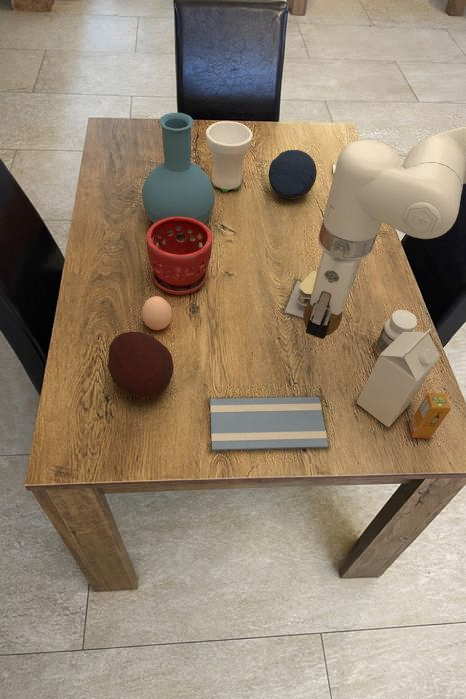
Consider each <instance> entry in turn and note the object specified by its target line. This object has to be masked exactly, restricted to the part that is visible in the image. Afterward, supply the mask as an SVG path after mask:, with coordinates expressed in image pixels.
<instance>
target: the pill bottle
mask: <svg viewBox="0 0 466 699" xmlns="http://www.w3.org/2000/svg"><path fill="white" fill-rule="evenodd" d="M417 325H418V319H417V317H416V315H415V314H413V313H412V312H411V311H409V310H406V309H397V310H395V311H393V313H392V314H391V315H390V318H389V319H387V320H386V321H385V323H384V325H383V327H382V330H381V332H380V334H379V335H378V336H379V337H378V338H377V340H376V343H375V346H374V350H375V353H376V354H377V356H378V357H379V355H380V354H381V353H382V352H383V351H384V350H385V349H386V348H387V347H388V346H389V345H390V344H391V343H392V342H393V341H394V340H396V339H397V338H398V337H399V336H400V335H401V334H402V333H403V332H416V326H417Z"/></svg>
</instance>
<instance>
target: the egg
mask: <svg viewBox="0 0 466 699" xmlns="http://www.w3.org/2000/svg"><path fill="white" fill-rule="evenodd" d="M141 317H142V321H143V323H144V324H145V326H147V327H148V328H149V329H151V330H155V331H160V330H163V329H166V328H167V327H168V325H169V324H170V323H171V321H172V317H173V311H172V308H171V304H170V303H169V302H168V301H167V300H166V299H165V298H163V297H162V296H158V295H155V296H151V297H150V298H148V299H146V301H145V302H144V303H143V305H142V309H141Z"/></svg>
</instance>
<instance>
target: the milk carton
mask: <svg viewBox="0 0 466 699" xmlns="http://www.w3.org/2000/svg"><path fill="white" fill-rule="evenodd" d="M431 330H432V329H431V328H428V329H427V330H426V331H415V332H403V333H402V334H401V335H400V336H399V337H398V338H397V339H396V340H394V341H393V342H392V343H391V344H390V345H389V346H388V347H387V348H386V349H385V350H384V351H383V352H382V353H381V354H380V355H379V356H378V357H377V360H376V361H375V363H374V366H373V368H372V369H371V372H370V374H369V376H368V378H367V380H366V382H365V384H364V386H363V388H362V391H361V393H360V395H359V396H358V399H357V401H356V404H357V405H358V406H359V407H361V408H362V409H363V410H364V411H366V412H367V413H368V414H370V415H371V416H372V417H374V418H375V419H376V420H378V421H379V422H380V423H381V424H383V425H384V426H385V427H387V428H390V427H391V425H392V424H393V423H394V422H395V421H396V420H397V419H398V418H399V417H400V416H401V415H402V413H404V412H405V410H406V409H407V408H408V407H409V406H410V405H411V403H412V401H413V400H414V398H415V397H416V395H417V394H418V392H419V391H420V389H421V388H422V386H423V385H424V383H425V381H426V380H427V378H428V377H429V375H430V374H431V372H432V370H433V369H434V368H435V366H436V364H437V363H438V361H439V360H440V358H441V355H440V353H439V350H438V349H437V347H436V345H435V343H434V341H433V338H432V337H431V335H430V332H431Z"/></svg>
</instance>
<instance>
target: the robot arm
mask: <svg viewBox="0 0 466 699" xmlns="http://www.w3.org/2000/svg"><path fill="white" fill-rule="evenodd" d="M335 164H336V168H335V172H334V174H333V177H332V180H331V184H330V188H329V193H328V197H327V201H326V205H325V209H324V213H323V218H322V221H321V226H320V229H319V233H318V238H317V240H318V245H319V247H320V248H321V250H322V252H321V257H320V261H319V264H318V266H317V267H318V268H317V271H316V272H317V275H316V279H315V283H314V287H313V291H312V295H311V300H310V303H311V305H312V306H313V305H314V308H313V311H312V314H311V315H310V317H309V321H308V324H307V328H306V327H305V333H306V334H307V335H309V336H312V337H315V338H318V339H321V340H324V339H325V338H326V337H327V336H326V333H327V330H328V327H329V324H330V321H329V318H330V315H331V313H332V314H336V315H339V314H340V313H341V312H342V313H343V310H344V308H345V305H346V303H347V300H348V298H349V296H350V293H351V292H352V291H351V290H352V288H353V285H354V283H355V280H356V276H357V274H358V271H359V268H360V266H361V262H362V260H363V259H366V258H367V257H368V256H369V255H370V254H371V253H372V251H373V248H374V245H375V242H376V240H377V237H378V235H379V231H380V228H381V226H382V223H383V224H386V225H387V226H389V227H391V228H393V229H395V230H397V231H398V232H401V233H403V234H405V235H407V236H410V237H412V238H416V239H422V240H429V239H435V238H439V237H441V236H443V235H444V234H446V233H447V232H449V231H450V230H451V229H452V227H453V226H454V224H455V223H456V220H457V218H458V215H459V211H460V205H461V197H462V193H463V187H464V185H466V126H462V127H457V128H453V129H449V130H445V131H441V132H438V133H436V134H433V135H430V136H428V137H426V138H424V139H422V140H420V141H419V142H418V143H416V144H415V145H414V146H412V148H411V149H410V150H409V151H408V153H407V154H406V155H405V157H404V160H403V163H402V160H401V158H400V155H399V153H398V151H396V150H395V149H394V148H393V147H392V146H390V145H388V144H387V143H384V142H382V141H379V140H376V139H375V140H374V139H357V140H354V141H351V142H349V143H348V144H346V145H345V146H344V147H343V148H342V150H340V152H339V155H338V157H337V161H336V163H335ZM319 299H320V301H319ZM328 302H329V304H328ZM325 310H327V311H328V313H327V315H326V317H324V313H325Z"/></svg>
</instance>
